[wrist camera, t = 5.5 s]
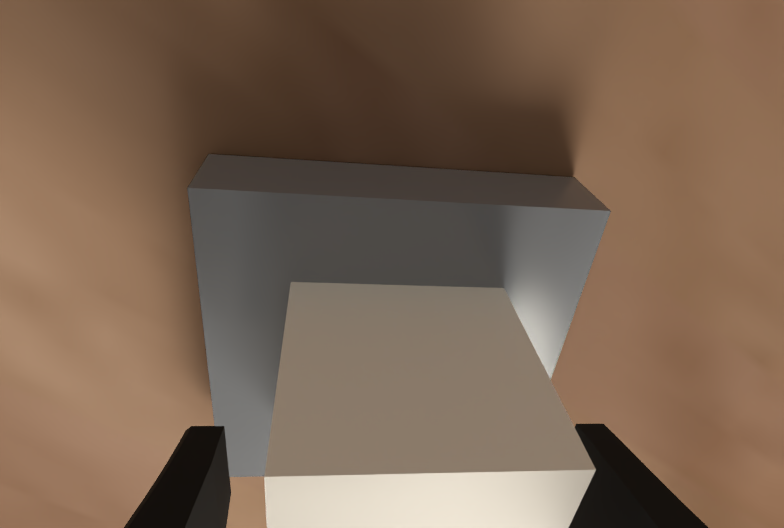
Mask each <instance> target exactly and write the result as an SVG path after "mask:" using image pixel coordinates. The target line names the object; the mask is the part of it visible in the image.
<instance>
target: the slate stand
mask: <svg viewBox="0 0 784 528" xmlns="http://www.w3.org/2000/svg"><path fill="white" fill-rule="evenodd" d="M187 189H188V198H189V207H190V215H191V224H192V233H193V241H194V250H195V259H196V268H197V276H198V285H199V294H200V303H201V311H202V320H203V329H204V337H205V346H206V355H207V364H208V372H209V381H210V390H211V398H212V407H213V416H214V425H215V426H224V428H225V438H226V448H227V458H228V468H229V477H249V476H264V475H265V468H266V461H267V453H268V446H269V439H270V431H271V424H272V416H273V409H274V402H275V394H276V387H277V380H278V372H279V365H280V358H281V350H282V343H283V335H284V328H285V321H286V313H287V306H288V299H289V291H290V284H291V282H311V283H346V284H381V285H416V286H450V287H485V288H504V289H505V291H506V293H507V295H508V297H509V299H510V301H511V303H512V305H513V307H514V309H515V311H516V313H517V315H518V317H519V319H520V321H521V323H522V325H523V327H524V329H525V330H526V332H527V334H528V336H529V338H530V340H531V342H532V344H533V346H534V348H535V350H536V352H537V354H538V356H539V358H540V360H541V362H542V364H543V366H544V368H545V370H546V372H547V374H548V376H549V378H550V380H551V377H552V374H553V372H554V369H555V366H556V363H557V360H558V358H559V355H560V352H561V349H562V346H563V344H564V341H565V338H566V335H567V332H568V330H569V327H570V324H571V321H572V318H573V316H574V313H575V310H576V307H577V304H578V301H579V299H580V296H581V293H582V290H583V287H584V285H585V282H586V279H587V276H588V273H589V271H590V268H591V265H592V262H593V259H594V257H595V254H596V251H597V248H598V245H599V243H600V240H601V237H602V234H603V231H604V229H605V226H606V223H607V220H608V217H609V215H610V212H611V211H610V210H609V209H608V208H607V207H606V206H605V205H604V204H603V203H602V202H601V201H599V200H598V199H597V198H596V197H595V196H594V195H593V194H592V193H591V192H590V191H589V190H588V189H587V188H586V187H584V186H583V185H582V184H581V183H580V182H579V181H578V180H577V179H576V178H575V177H563V176H547V175H532V174H516V173H500V172H484V171H469V170H453V169H437V168H422V167H406V166H390V165H374V164H359V163H343V162H327V161H311V160H296V159H280V158H264V157H249V156H233V155H217V154H208V156H207V158H206V159H205V161H204V162H203V164H202V166H201V167H200V169H199V170H198V172H197V173H196V175H195V177H194V178H193V180H192V181H191V183H190V184H189V186H188V188H187Z"/></svg>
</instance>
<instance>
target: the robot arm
mask: <svg viewBox="0 0 784 528" xmlns="http://www.w3.org/2000/svg"><path fill="white" fill-rule="evenodd" d="M575 429H576V431H577V433H578V435H579V437H580V439H581V441H582V443H583V445H584V447H585V449H586V451H587V453H588V455H589V457H590V459H591V461H592V463H593V465H594V467H595V469H596V471H595V473H594V475H593V477H592V479H591V481H590V483H589V486H588V488H587V490H586V492H585V494H584V496H583V498H582V500H581V502H580V505H579V507H578V509H577V511H576V513H575V515H574V517H573V519H572V521H571V524H570V526H569V528H708V527H707V526H706V525H705V524H704V523H703V522H702V521H701V520H700V519H699V518H698V517H697V516H696V515H695V514H694V513H693V512H692V511H690V510H689V509H688V508H687V507H686V506H685V505H684V504H683V503H682V502H681V501H680V500H679V499H678V498H677V497H676V496H675V495H674V494H673V493H672V492H671V491H670V490H669V489H668V488H667V487H666V486H665V485H664V484H663V483H662V482H661V481H660V480H659V479H658V478H657V477H656V476H655V475H654V474H653V473H652V472H651V471H650V470H649V469H648V468H647V467H646V466H645V465H644V464H643V463H642V462H641V461H640V460H639V459H638V458H637V457H636V456H635V455H634V454H633V453H632V452H631V451H630V450H629V449H628V448H627V447H626V446H625V445H624V444H623V443H622V442H621V441H620V440H619V439H618V438H617V437H616V436H615V435H614V434H613V433H612V432H611V431H610V430H609V429H608V428H607V427H606V426H605V425H604V424H576V426H575ZM230 496H231V488H230V478H229V468H228V458H227V448H226V438H225V428H224V426H191V427H190V428H189V429H187V430H186V431H185V433H184V435H183V437H182V438H181V440H180V442H179V444H178V445H177V447H176V449H175V450H174V452H173V454H172V455H171V457H170V459H169V460H168V462H167V464H166V465H165V467H164V469H163V470H162V472H161V473H160V475H159V476H158V478H157V480H156V481H155V483H154V484H153V486H152V487H151V489H150V490H149V492H148V493H147V495H146V496H145V498H144V499H143V501H142V502H141V504H140V505H139V507H138V508H137V509H136V511H135V512H134V514H133V515H132V517H131V518H130V520H129V521H128V522H127V524H126V525H125V527H124V528H226V524H227V517H228V510H229V503H230Z"/></svg>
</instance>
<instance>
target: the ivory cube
mask: <svg viewBox="0 0 784 528" xmlns="http://www.w3.org/2000/svg"><path fill="white" fill-rule="evenodd" d="M595 471H596V469H595V467H594V465H593V463H592V461H591V459H590V457H589V455H588V453H587V451H586V449H585V447H584V445H583V443H582V441H581V439H580V437H579V435H578V433H577V431H576V429H575V427H574V425H573V423H572V421H571V419H570V417H569V415H568V413H567V411H566V410H565V408H564V406H563V404H562V402H561V400H560V398H559V396H558V394H557V392H556V390H555V388H554V386H553V384H552V382H551V380H550V378H549V376H548V374H547V372H546V370H545V368H544V366H543V364H542V362H541V360H540V358H539V356H538V354H537V352H536V350H535V348H534V346H533V344H532V342H531V340H530V338H529V336H528V334H527V332H526V330H525V329H524V327H523V325H522V323H521V321H520V319H519V317H518V315H517V313H516V311H515V309H514V307H513V305H512V303H511V301H510V299H509V297H508V295H507V293H506V291H505V289H504V288H485V287H450V286H416V285H381V284H346V283H311V282H291V284H290V291H289V299H288V306H287V313H286V321H285V328H284V335H283V343H282V350H281V358H280V365H279V372H278V380H277V387H276V394H275V402H274V409H273V416H272V424H271V431H270V439H269V446H268V453H267V461H266V468H265V475H264V481H265V501H266V520H267V528H569V526H570V524H571V521H572V519H573V517H574V515H575V513H576V511H577V509H578V507H579V505H580V502H581V500H582V498H583V496H584V494H585V492H586V490H587V488H588V486H589V483H590V481H591V479H592V477H593V475H594V473H595Z"/></svg>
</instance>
